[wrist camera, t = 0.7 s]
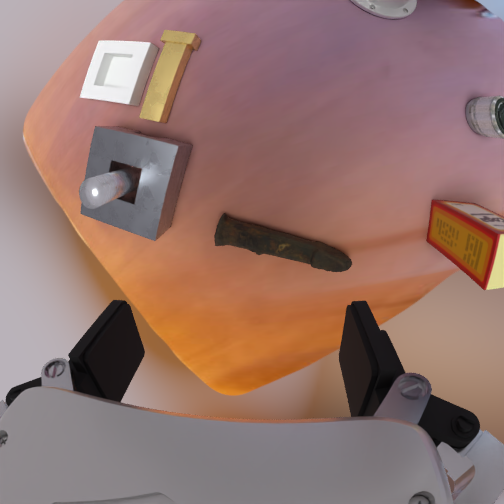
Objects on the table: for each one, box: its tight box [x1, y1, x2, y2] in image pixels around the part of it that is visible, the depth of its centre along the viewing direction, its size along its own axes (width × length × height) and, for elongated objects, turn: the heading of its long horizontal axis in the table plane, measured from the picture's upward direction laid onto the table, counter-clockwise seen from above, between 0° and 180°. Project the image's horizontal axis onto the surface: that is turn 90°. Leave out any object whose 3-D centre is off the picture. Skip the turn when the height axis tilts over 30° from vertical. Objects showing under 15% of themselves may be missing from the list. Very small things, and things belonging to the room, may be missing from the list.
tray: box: [80, 41, 159, 106], centre depth 29 cm, size 9×9×3 cm
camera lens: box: [466, 96, 504, 139], centre depth 25 cm, size 6×6×8 cm
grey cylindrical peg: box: [79, 166, 142, 209], centre depth 31 cm, size 3×3×13 cm
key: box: [139, 30, 201, 123], centre depth 30 cm, size 13×4×3 cm, turn 161°
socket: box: [81, 126, 193, 241], centre depth 34 cm, size 12×12×6 cm
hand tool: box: [215, 213, 352, 272], centre depth 37 cm, size 19×4×5 cm, turn 74°
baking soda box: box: [426, 200, 504, 290], centre depth 28 cm, size 10×6×16 cm
